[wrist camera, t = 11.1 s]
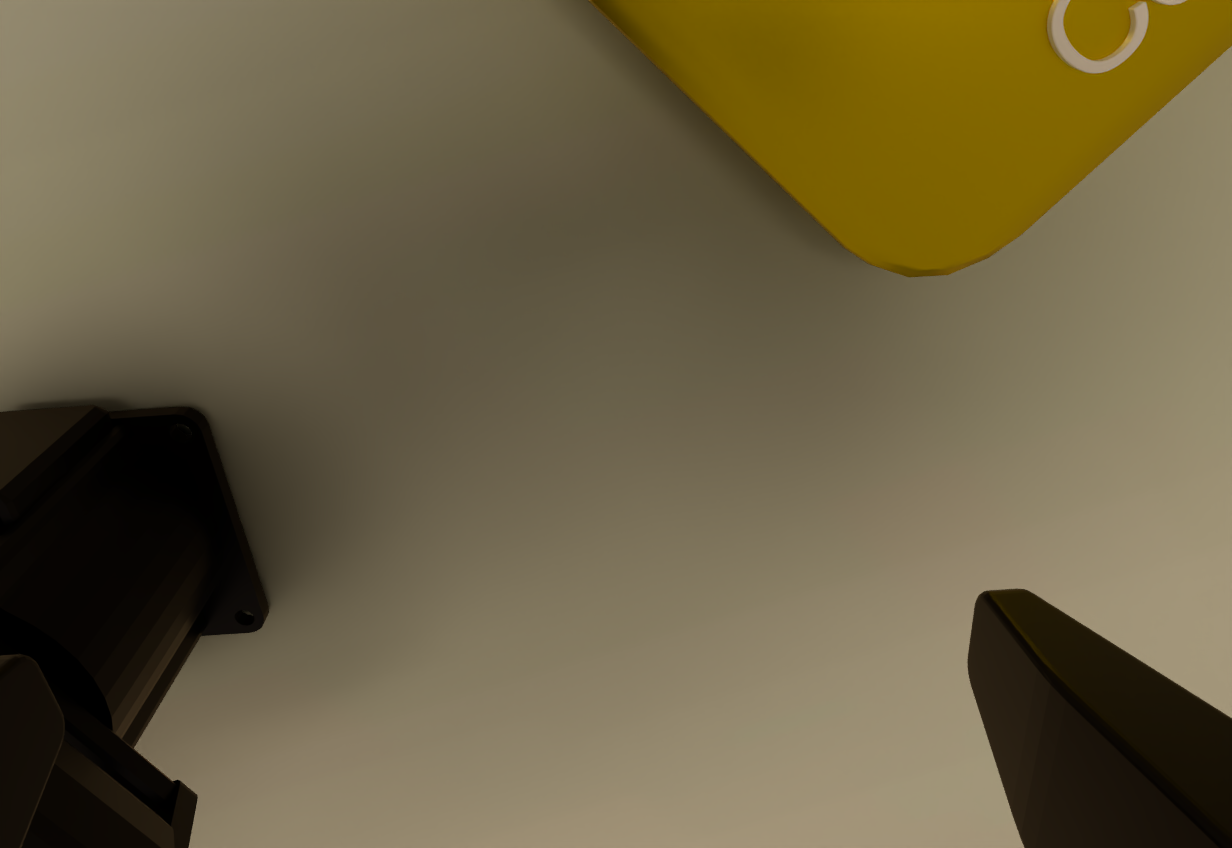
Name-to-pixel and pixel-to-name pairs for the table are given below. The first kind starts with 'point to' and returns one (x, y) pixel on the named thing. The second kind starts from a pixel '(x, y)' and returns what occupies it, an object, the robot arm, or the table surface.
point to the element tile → (927, 103)
